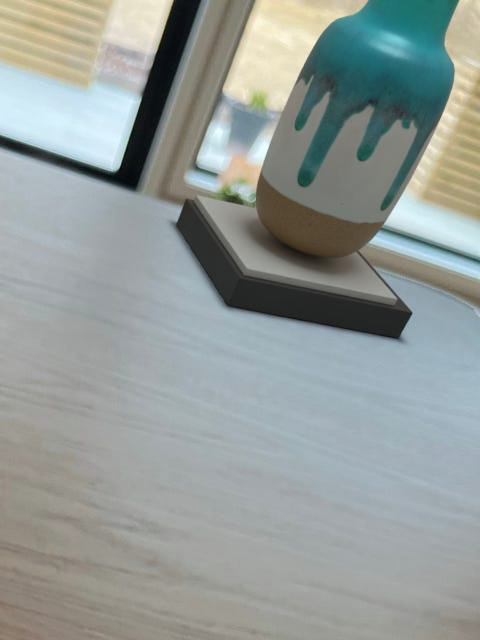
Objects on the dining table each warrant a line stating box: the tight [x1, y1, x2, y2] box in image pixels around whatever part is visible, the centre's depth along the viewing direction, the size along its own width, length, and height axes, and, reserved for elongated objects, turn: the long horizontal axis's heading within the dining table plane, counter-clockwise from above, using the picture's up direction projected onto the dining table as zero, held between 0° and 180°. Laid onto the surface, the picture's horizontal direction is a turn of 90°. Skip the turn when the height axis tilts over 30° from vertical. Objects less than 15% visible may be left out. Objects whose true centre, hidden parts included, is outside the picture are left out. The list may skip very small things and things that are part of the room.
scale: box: [176, 194, 413, 339], centre depth 83 cm, size 15×14×3 cm
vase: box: [255, 0, 460, 258], centre depth 76 cm, size 11×11×19 cm
